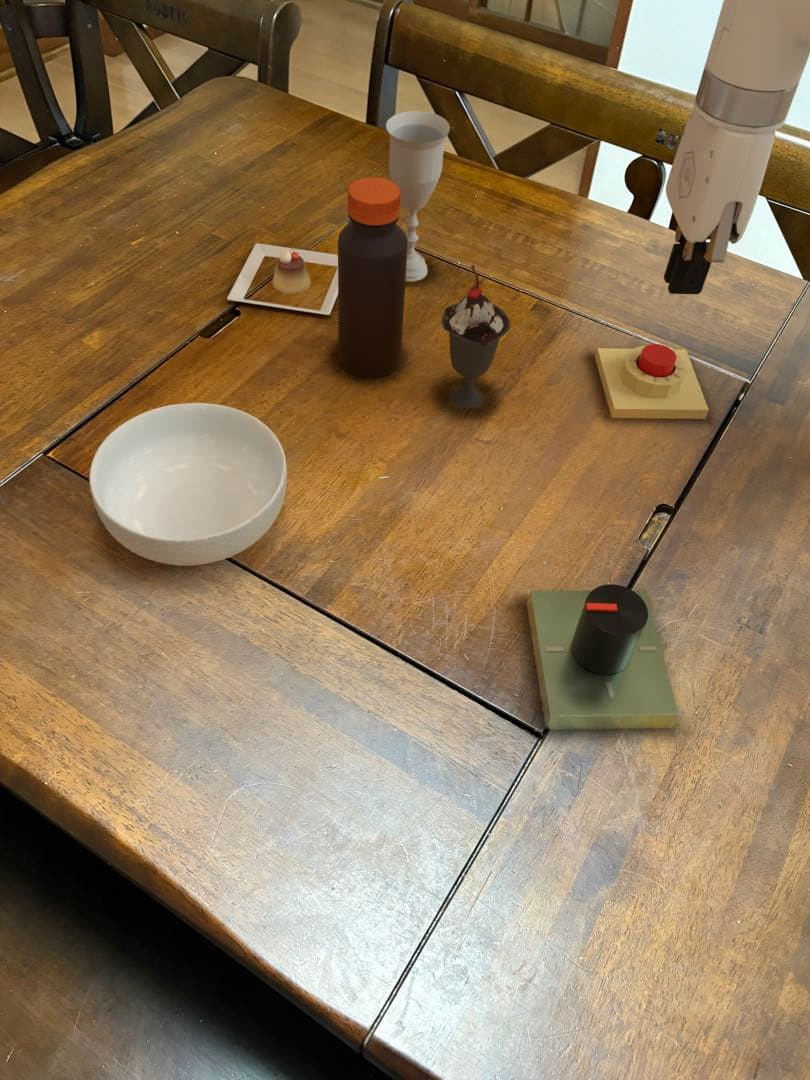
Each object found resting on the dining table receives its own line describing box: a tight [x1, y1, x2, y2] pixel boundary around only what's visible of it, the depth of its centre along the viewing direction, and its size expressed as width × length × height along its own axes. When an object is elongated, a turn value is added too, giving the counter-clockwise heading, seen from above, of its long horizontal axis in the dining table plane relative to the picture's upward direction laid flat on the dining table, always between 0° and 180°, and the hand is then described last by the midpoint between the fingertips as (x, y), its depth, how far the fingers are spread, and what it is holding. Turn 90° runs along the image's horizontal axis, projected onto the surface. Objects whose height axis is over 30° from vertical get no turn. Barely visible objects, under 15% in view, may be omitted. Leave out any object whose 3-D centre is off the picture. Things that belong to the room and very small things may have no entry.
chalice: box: [385, 110, 451, 282], centre depth 104 cm, size 7×7×18 cm
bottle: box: [337, 176, 408, 380], centre depth 92 cm, size 7×7×20 cm
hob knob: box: [572, 583, 648, 675], centre depth 71 cm, size 5×5×6 cm
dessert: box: [226, 242, 338, 316], centre depth 106 cm, size 12×12×5 cm
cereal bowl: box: [88, 402, 288, 567], centre depth 81 cm, size 17×17×7 cm
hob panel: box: [526, 589, 679, 730], centre depth 74 cm, size 10×12×3 cm
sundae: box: [441, 264, 512, 409], centre depth 91 cm, size 7×7×15 cm
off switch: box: [594, 344, 710, 420], centre depth 98 cm, size 10×10×4 cm
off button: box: [638, 343, 676, 378], centre depth 96 cm, size 4×4×2 cm
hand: (681, 286), depth 89 cm, fingers closed
